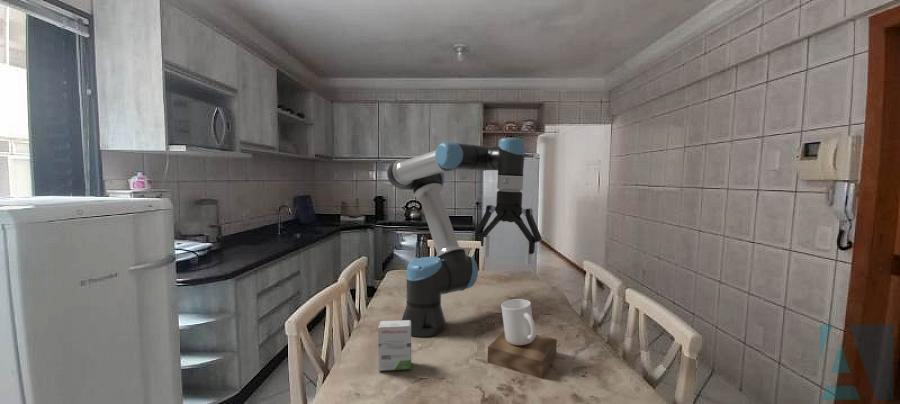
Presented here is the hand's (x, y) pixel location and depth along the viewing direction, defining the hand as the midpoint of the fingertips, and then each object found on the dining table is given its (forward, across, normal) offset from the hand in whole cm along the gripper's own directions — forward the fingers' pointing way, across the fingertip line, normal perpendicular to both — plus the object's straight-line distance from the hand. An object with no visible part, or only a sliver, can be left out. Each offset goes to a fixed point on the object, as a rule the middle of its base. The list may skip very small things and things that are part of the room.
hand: (506, 260), depth 106 cm
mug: (+20, +9, -6) cm, 23 cm away
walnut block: (+26, +9, -6) cm, 28 cm away
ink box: (+26, -19, -28) cm, 43 cm away
